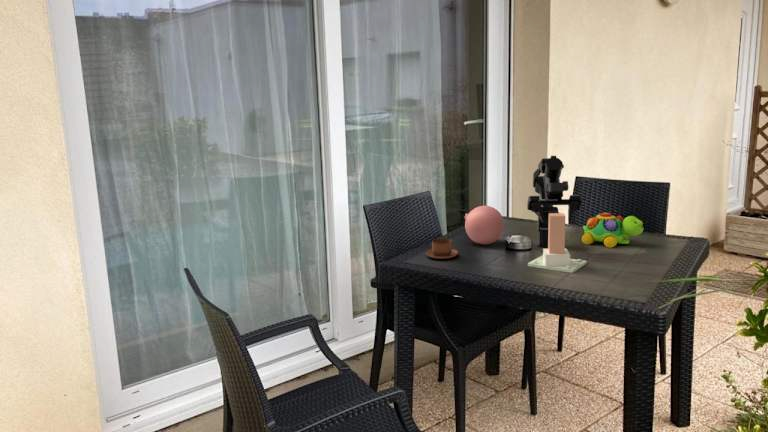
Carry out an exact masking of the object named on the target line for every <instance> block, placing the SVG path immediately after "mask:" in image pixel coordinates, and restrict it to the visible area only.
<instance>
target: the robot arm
mask: <svg viewBox="0 0 768 432" xmlns="http://www.w3.org/2000/svg"><path fill="white" fill-rule="evenodd" d="M564 168H565V165H564V164H563V161H562V160H561V159H560V158H559V157H557V155H550V157H548V158H543V157H542V159H541V160H540V161H539V163H538V166H537V169H536V170H535V171H534V172H533V175H532V187H533V189H534V192H535V193H536V194H538V195H528V198H527V202H526V205H527V209H526V210H528V211H531V212H532V213H534V214H535V215H536V216H537V223H536V227H537V232H539V240H538V241H539V244H537V248H545V249H548V224H549V213H560V212H559V208H558V207H557V206H567V207H568V210H567V216H568V217H567V218H568V219H567V220H568V223H569V224H570V223H571V221H572V216H573V214H574V212H577V210H578V211H579V210H580V209H581V206H582V202H583V197H582V196H581V195H580V194H575V195H574V194H572V195H571V194H570V195H569V198H565V199H563V197H564V192H567V191H568V190H569V182H568V180H564V181H563V180H562V182H561V181H560V177H561V174H562V171H563V169H564ZM541 174H544V175H541Z"/></svg>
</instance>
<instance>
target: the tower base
mask: <svg viewBox="0 0 768 432" xmlns="http://www.w3.org/2000/svg"><path fill="white" fill-rule="evenodd" d="M587 263H588V262H587V260H582V259H581V258H577V259H575V258H571V254H570V252H569V250H568V249H567V248H565V254H562V253H549V251H548V248H542V255H540V256H538V257H536V258H535V259H533V260H530V261H529V262H527V267H530V268H537V269H538V268H539V269H545V270H551V271H558V272H563V273H564V272H565V273H571V274H573V273H575V272H576V271H578V270H579V269H581V268H582V267H583V266H585V265H587Z"/></svg>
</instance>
